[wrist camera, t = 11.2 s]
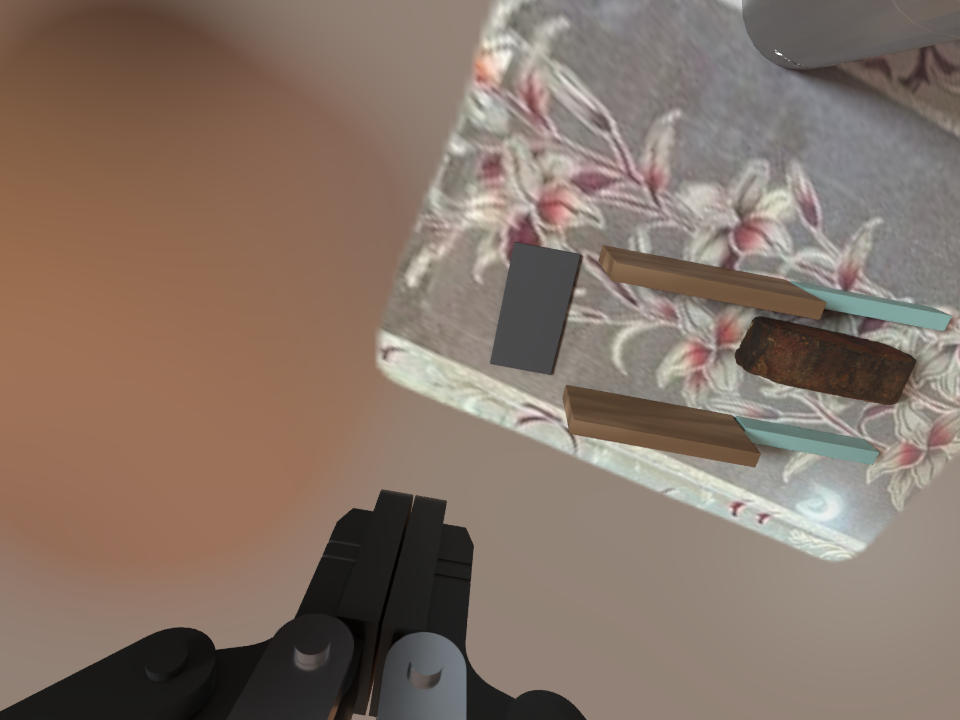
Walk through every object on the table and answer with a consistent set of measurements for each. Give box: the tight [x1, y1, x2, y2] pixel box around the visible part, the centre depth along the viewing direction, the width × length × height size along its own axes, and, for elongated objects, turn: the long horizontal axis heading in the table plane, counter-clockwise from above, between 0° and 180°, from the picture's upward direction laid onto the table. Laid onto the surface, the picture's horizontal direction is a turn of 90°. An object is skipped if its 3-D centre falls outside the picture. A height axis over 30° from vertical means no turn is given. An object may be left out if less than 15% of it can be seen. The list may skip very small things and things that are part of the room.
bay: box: [735, 281, 952, 465], centre depth 44 cm, size 13×11×2 cm
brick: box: [735, 316, 916, 405], centre depth 41 cm, size 11×4×5 cm, turn 78°
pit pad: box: [490, 242, 580, 375], centre depth 44 cm, size 10×5×1 cm, turn 170°
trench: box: [563, 245, 827, 467], centre depth 42 cm, size 13×14×6 cm
